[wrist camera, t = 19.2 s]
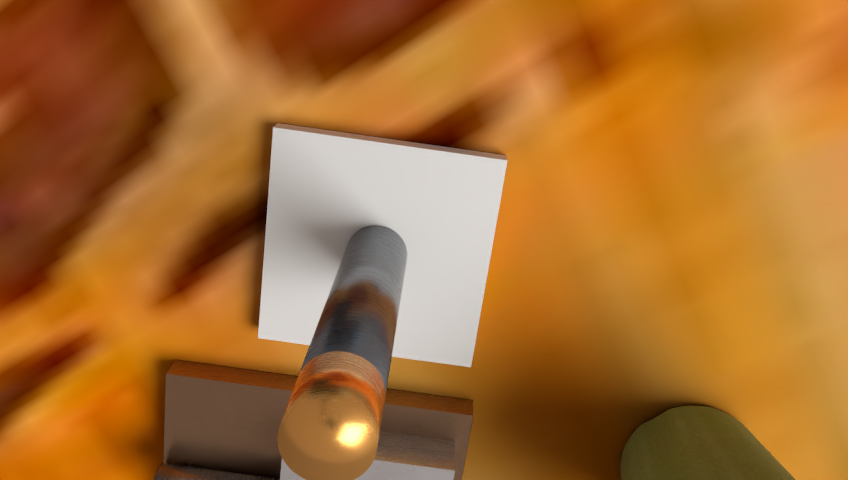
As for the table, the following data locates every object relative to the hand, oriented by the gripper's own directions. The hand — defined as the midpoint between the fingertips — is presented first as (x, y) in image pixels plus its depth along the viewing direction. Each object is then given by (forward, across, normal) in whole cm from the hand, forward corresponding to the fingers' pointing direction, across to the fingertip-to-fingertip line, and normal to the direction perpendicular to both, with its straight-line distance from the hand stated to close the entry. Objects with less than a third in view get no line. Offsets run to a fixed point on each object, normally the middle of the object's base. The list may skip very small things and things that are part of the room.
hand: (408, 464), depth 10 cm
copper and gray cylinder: (+28, -2, -8) cm, 29 cm away
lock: (+29, -4, -22) cm, 36 cm away
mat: (+29, -2, -8) cm, 30 cm away
